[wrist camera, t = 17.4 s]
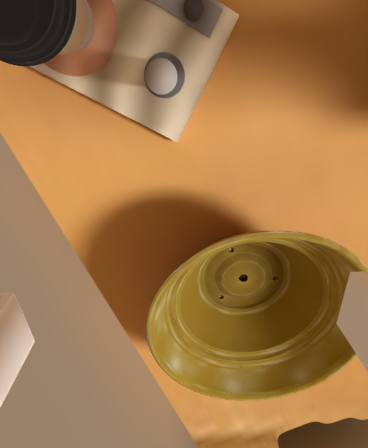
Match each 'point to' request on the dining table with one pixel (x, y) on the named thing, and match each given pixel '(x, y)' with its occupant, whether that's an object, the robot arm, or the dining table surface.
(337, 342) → the planter bowl
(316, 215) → the dining table surface
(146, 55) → the control board
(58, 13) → the coffee cup
